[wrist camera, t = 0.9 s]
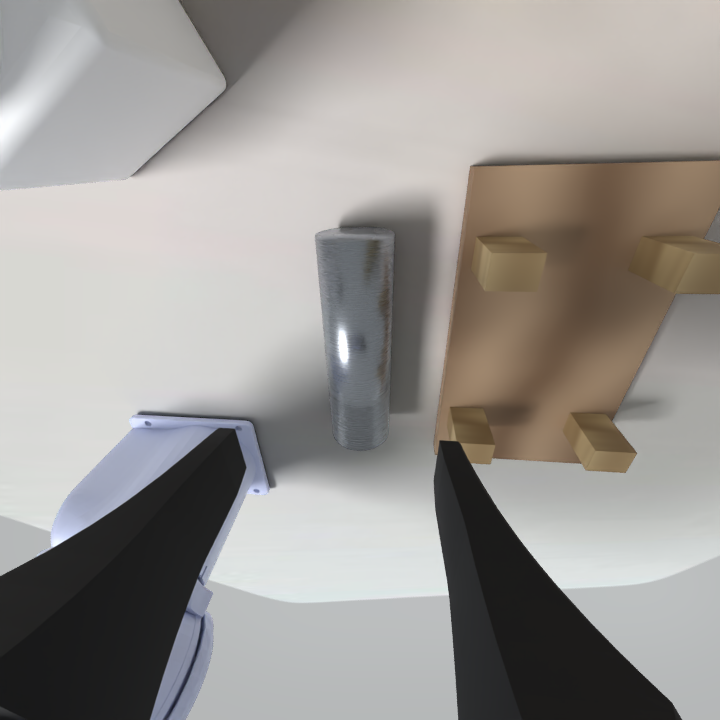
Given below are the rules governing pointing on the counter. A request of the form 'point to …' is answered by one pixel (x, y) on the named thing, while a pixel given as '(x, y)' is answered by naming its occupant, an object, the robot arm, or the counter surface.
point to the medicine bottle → (95, 87)
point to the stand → (567, 301)
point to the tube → (357, 330)
